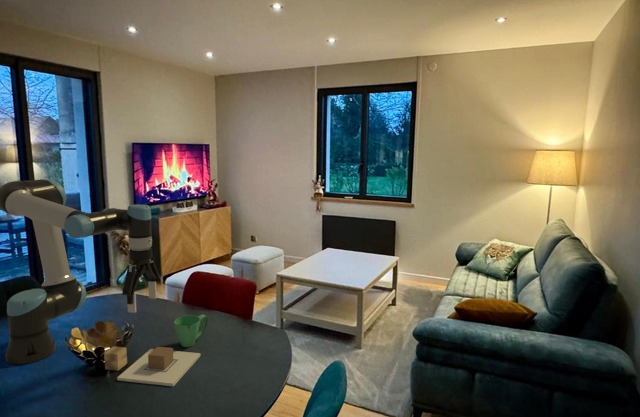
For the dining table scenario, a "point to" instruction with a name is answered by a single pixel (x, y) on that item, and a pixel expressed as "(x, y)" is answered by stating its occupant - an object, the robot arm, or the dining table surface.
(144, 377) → the cream square board
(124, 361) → the oak block
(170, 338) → the dining table surface
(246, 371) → the dining table surface
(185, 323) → the mug
